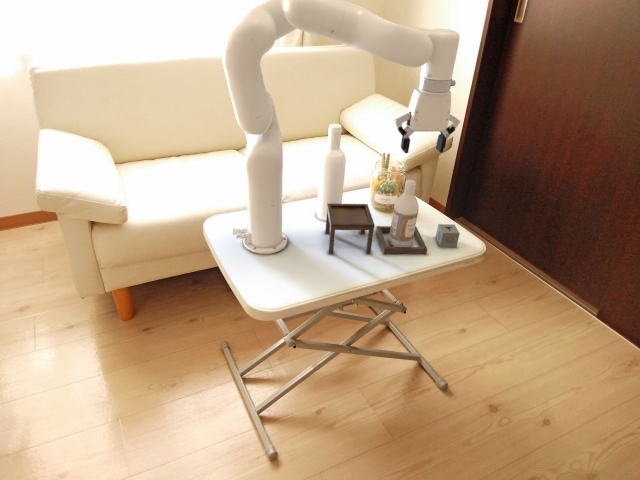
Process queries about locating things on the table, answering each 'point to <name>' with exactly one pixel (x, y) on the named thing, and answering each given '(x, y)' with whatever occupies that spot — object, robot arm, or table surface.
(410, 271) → the table surface
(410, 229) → the bath foam
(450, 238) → the dice cube
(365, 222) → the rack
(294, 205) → the table surface
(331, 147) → the bottle
